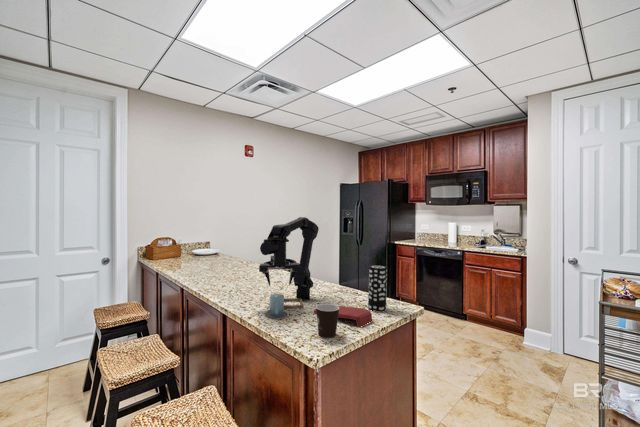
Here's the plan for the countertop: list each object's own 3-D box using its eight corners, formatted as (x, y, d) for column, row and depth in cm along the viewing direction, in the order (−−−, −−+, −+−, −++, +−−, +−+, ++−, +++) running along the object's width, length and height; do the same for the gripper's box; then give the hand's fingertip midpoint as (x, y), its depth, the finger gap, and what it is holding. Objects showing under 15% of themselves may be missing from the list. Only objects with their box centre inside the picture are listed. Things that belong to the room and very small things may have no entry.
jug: (283, 318, 124) (284, 299, 124) (269, 318, 123) (269, 299, 123) (283, 311, 132) (283, 293, 132) (269, 311, 132) (270, 293, 132)
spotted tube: (387, 308, 142) (388, 266, 142) (383, 313, 134) (384, 269, 134) (370, 305, 145) (371, 264, 145) (366, 310, 138) (367, 267, 138)
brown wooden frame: (301, 300, 151) (301, 298, 151) (303, 308, 139) (303, 305, 139) (271, 301, 148) (271, 298, 148) (270, 309, 136) (271, 306, 136)
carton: (312, 321, 132) (358, 329, 116) (311, 310, 133) (356, 316, 116) (330, 315, 141) (374, 321, 125) (329, 304, 142) (373, 309, 125)
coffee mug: (336, 340, 104) (337, 312, 104) (313, 337, 106) (313, 310, 106) (341, 328, 116) (341, 302, 116) (319, 325, 117) (320, 300, 117)
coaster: (287, 310, 135) (287, 310, 135) (288, 318, 125) (288, 317, 125) (265, 311, 133) (265, 310, 133) (264, 319, 123) (264, 318, 123)
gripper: (298, 249, 147) (298, 280, 148) (260, 250, 144) (259, 281, 144) (300, 252, 136) (300, 286, 137) (259, 253, 133) (259, 288, 133)
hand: (279, 285), depth 138 cm, fingers open, 9 cm apart
